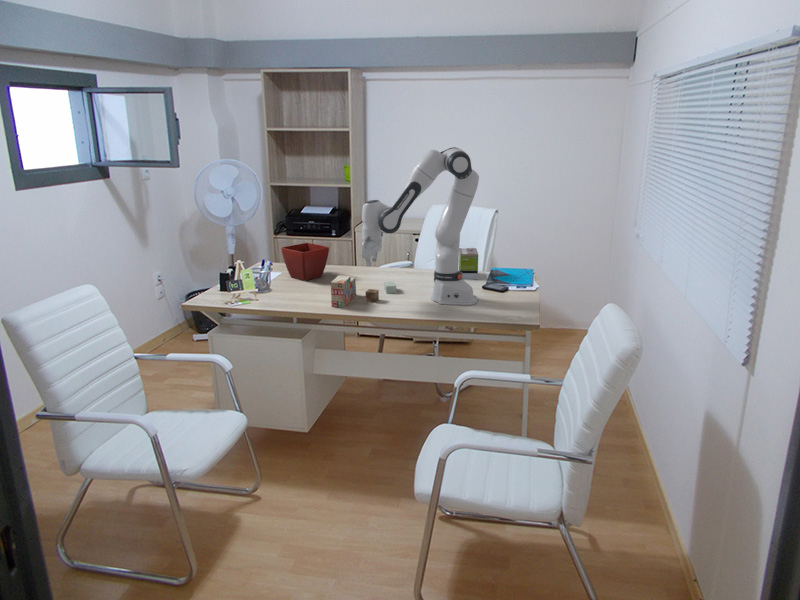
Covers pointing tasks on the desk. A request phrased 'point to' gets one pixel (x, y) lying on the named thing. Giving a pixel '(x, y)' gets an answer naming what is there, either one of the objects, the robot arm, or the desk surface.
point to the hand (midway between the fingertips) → (371, 263)
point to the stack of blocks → (342, 290)
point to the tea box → (468, 263)
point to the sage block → (389, 287)
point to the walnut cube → (372, 295)
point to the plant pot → (305, 260)
